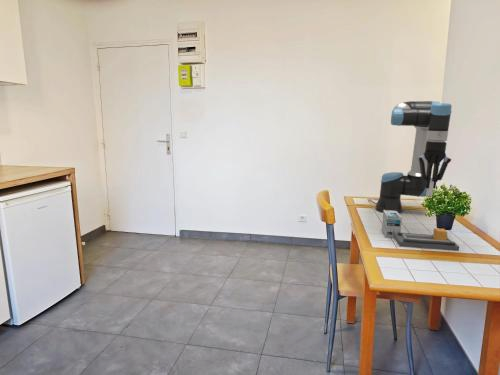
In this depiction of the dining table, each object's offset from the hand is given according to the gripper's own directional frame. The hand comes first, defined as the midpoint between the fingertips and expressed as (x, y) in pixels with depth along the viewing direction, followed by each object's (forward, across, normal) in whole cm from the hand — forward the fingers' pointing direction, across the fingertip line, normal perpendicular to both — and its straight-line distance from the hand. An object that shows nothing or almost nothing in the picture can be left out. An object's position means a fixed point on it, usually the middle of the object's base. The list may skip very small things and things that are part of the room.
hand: (429, 195), depth 144 cm
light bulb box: (+23, -11, +11) cm, 27 cm away
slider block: (+20, +7, 0) cm, 21 cm away
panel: (+22, +1, 0) cm, 22 cm away
